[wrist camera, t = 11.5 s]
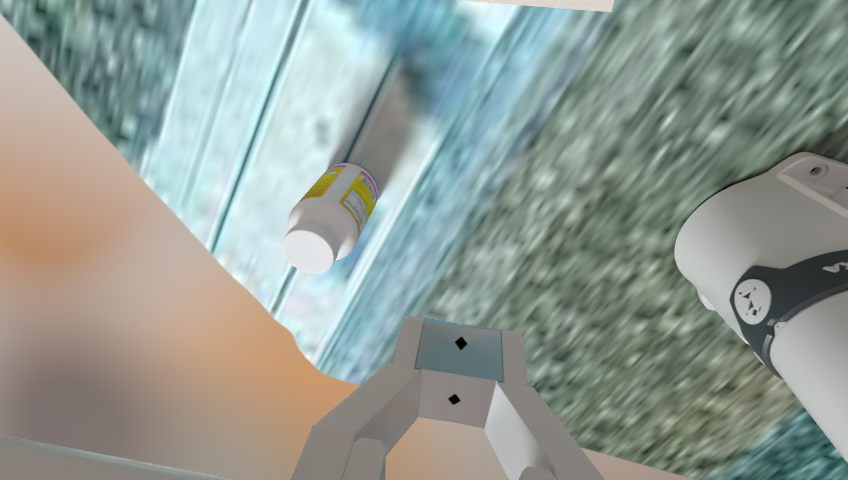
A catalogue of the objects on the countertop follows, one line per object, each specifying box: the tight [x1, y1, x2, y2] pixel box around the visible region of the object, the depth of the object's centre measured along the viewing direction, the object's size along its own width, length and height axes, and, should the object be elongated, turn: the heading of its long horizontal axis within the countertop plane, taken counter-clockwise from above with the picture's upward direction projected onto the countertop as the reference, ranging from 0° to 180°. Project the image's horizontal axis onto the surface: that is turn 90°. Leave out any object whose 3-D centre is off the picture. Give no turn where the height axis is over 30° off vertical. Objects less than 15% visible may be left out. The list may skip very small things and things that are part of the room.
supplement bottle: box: [282, 163, 378, 273], centre depth 38 cm, size 7×7×13 cm
